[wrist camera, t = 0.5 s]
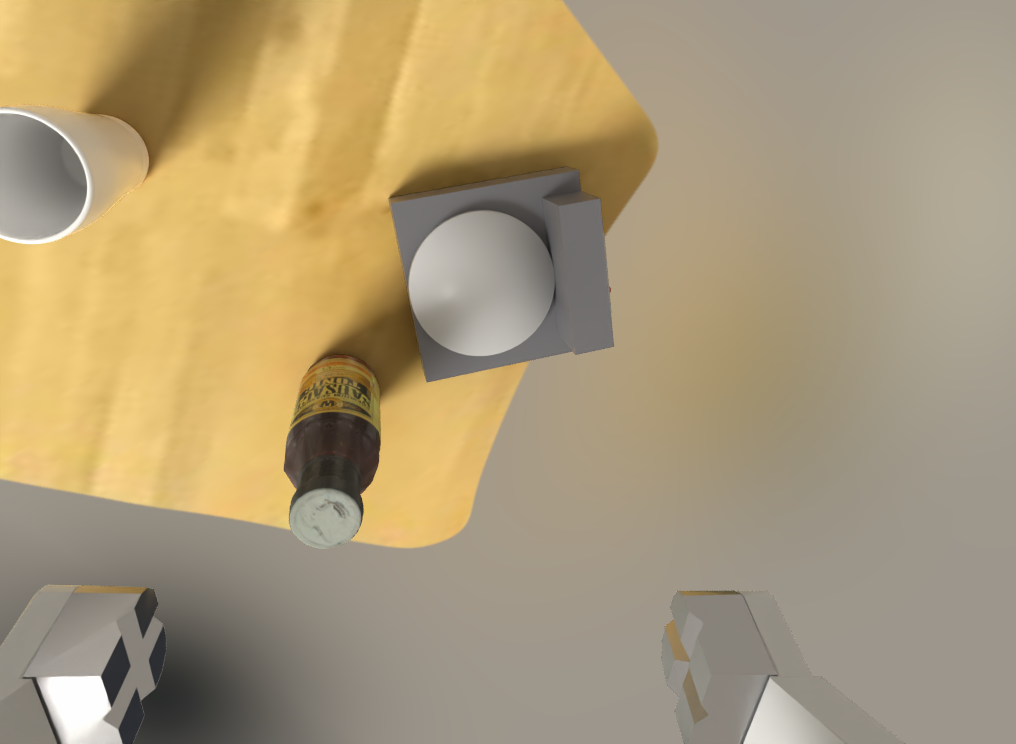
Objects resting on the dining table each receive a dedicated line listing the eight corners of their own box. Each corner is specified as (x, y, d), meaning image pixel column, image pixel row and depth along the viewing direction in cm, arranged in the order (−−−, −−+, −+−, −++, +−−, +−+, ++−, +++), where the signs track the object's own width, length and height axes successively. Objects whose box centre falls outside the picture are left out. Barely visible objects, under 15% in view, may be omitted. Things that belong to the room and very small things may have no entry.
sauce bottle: (375, 346, 58) (389, 460, 40) (382, 417, 60) (398, 556, 42) (290, 354, 57) (265, 475, 39) (301, 426, 59) (282, 573, 41)
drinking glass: (29, 141, 48) (-96, 158, 34) (111, 81, 48) (17, 75, 34) (106, 224, 51) (19, 272, 37) (184, 168, 51) (125, 195, 37)
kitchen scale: (388, 197, 54) (394, 212, 47) (571, 165, 56) (603, 175, 49) (422, 369, 60) (433, 404, 53) (589, 334, 62) (620, 364, 55)
